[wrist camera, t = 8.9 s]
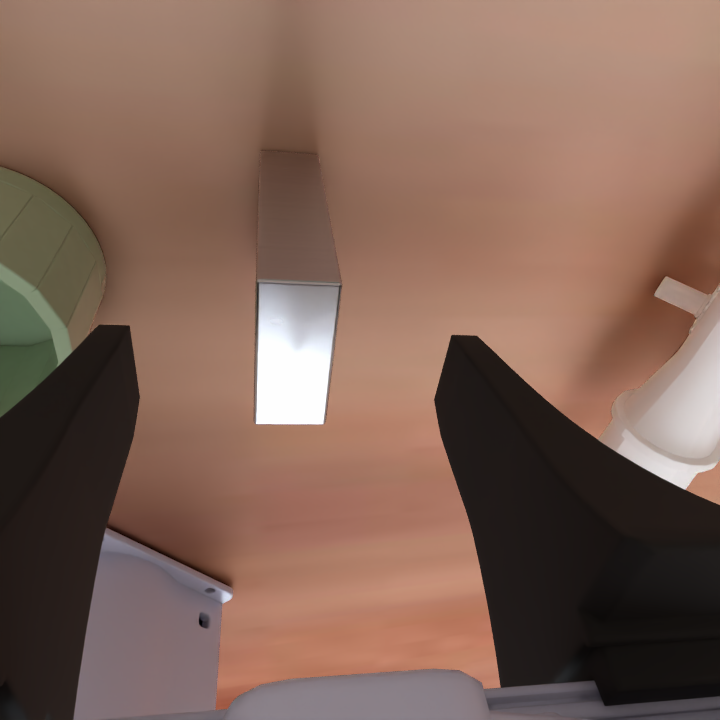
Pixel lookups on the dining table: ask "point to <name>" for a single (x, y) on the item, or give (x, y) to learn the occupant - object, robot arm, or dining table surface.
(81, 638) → the robot arm
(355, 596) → the dining table surface
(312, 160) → the rectangular block
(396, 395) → the dining table surface
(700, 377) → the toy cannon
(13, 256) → the cup
